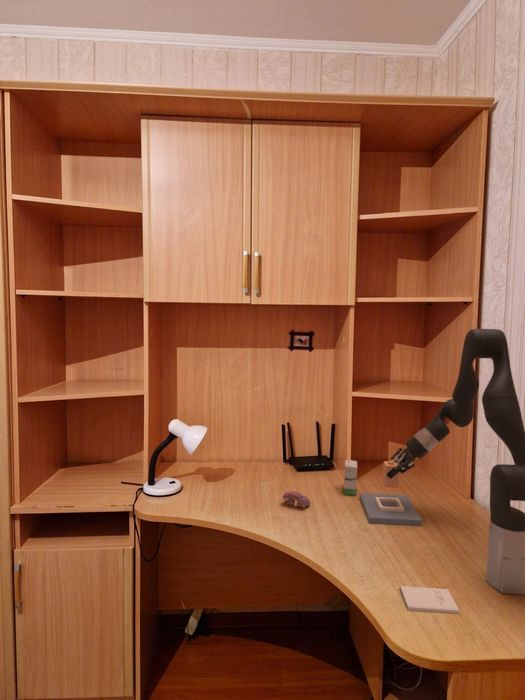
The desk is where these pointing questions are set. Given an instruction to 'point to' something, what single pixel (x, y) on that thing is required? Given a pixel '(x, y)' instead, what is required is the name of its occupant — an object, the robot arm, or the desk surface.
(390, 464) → the block
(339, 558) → the desk surface
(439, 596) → the external hard drive
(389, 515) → the board
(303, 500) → the purple lumpy oblong
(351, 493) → the ink box
